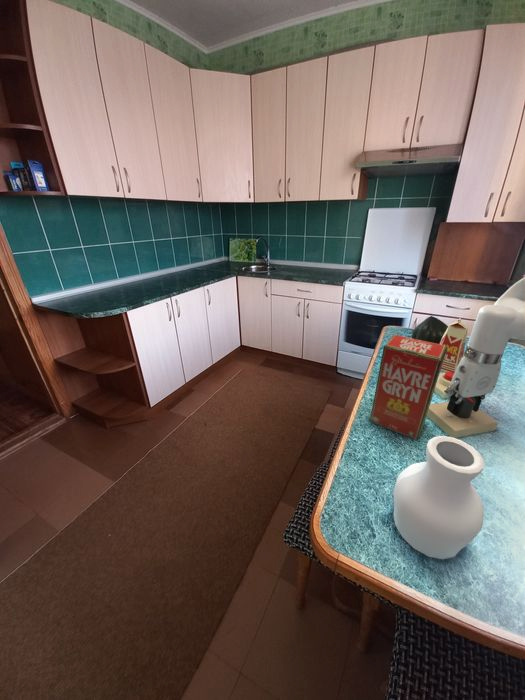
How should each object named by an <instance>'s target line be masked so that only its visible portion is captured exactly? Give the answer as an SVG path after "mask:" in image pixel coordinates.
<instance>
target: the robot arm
mask: <svg viewBox="0 0 525 700" xmlns="http://www.w3.org/2000/svg"><path fill="white" fill-rule="evenodd" d="M511 339H514V340H522V341H525V276H524V277H523V278H521V279H518V281H516V282H515V283H514V284H512V285H511V286H510V287H509V288H508V289H507V290H506V291H505V292H504V293H503V294H502V295H500V297H499V298H497V300H496V301H495V302H494V304H486V305H484V306H481V307H480V308H479V310H478V313H477V316H476V318H475V321H474V323H473V327H472V330H471V333H470V335H469V339H468V342H467V343H466V344H467V345H466V346H465V350H464V356H463V357H462V359H461V361H460V363H459V364H458V366H457V368H456V371H455V373H454V375H453V378H452V381H451V385H450V386H449V387H448V388H447V389H445V390H444V393H445V394H446V395H447V396H448V397H449V398H448V399H449V400H448V402H449V403H448V406H447V410H448V411H450V412H451V413H452V414H453V415H455V416H456V415H458V412H459V409H460V407H461V404H460V402H461V401H462V399H463V398H464V397H474V398H475V399H476V402H475V405H474V407H473V411H474V412H477V411H478V409H480V407H481V404H482V402H483V400H485V399H486V396H487V395H488V394H489V395H490V394H491V393H493V392H494V390H495V388H496V386H497V382H498V380H499V377H500V373H501V368H502V358H503V355H504V353H505V351H506V348H507V345H508V344H509V341H510V340H511ZM457 393H458V394H459V397H458V398H457V396H455V395H456V394H457Z"/></svg>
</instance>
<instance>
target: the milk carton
mask: <svg viewBox="0 0 525 700" xmlns="http://www.w3.org/2000/svg"><path fill="white" fill-rule="evenodd" d="M447 326H448V328H447V330H446V332H445V333H444V335H443V337H442V339H441V341H440V344H441V345H446V346H447V351H446V354H445V357H444V360H443V364H442V367H441V370H440V372H443V373H446V372H453V373H455V371H456V368H457V366H458V364H459V363H460V361H461V359H462V357H464V353H465V350H466V344H467V338H468V330H469V329H468V326H466V325H465V324H464V322H462V318H461V317H459V318H458V319H457V321H454V322H452V323H450V324H449V325H447Z"/></svg>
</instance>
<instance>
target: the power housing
mask: <svg viewBox="0 0 525 700" xmlns="http://www.w3.org/2000/svg"><path fill="white" fill-rule="evenodd" d="M445 373H446V372H440V373H439V377H438V380H437V383H436V386H435V390H434V394H437V395H438V396H439V397H440V398H442V399H444V400H445V399H449V397H448V396H447V395H446V394H445V393H444V390H445V389H447V388H448V387H449V386H450V385H451V381H448V380H446V379H444V376H445ZM457 395H458V393H457V394H456V395H455V396H456V397H457Z"/></svg>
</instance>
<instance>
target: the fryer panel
mask: <svg viewBox="0 0 525 700" xmlns="http://www.w3.org/2000/svg"><path fill="white" fill-rule="evenodd" d="M448 403H449V401H444V402H438V403H433V404H430V407H429V410H428V413H427V416H426V418H428V419H429V420H431V421H432V422H433V423H434V424H435V425H436V426H437V427H438V428H439V429H440V430H441V431H443V432H444V433H445V434H446V435H447V437H453V438H456V439H458V438H463V437H468V436H473V435H474V436H475V435H478V434H483V433H484V434H485V433H488V432H493V431H496V429H497V428H498V425H499V423H500V422H499V421H498V420H496V419H495V418H494V417H493V416H491V415H489V414H488V413H486V412H485V411H484V410H482V409H481V408H479V409H478V411H477V412H474V411H473V410H472V412H471V415H470V417H469V418H460V417H457V416H455V415H453V414H452V413H451V412H450V411H448V410H447V406H448Z"/></svg>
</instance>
